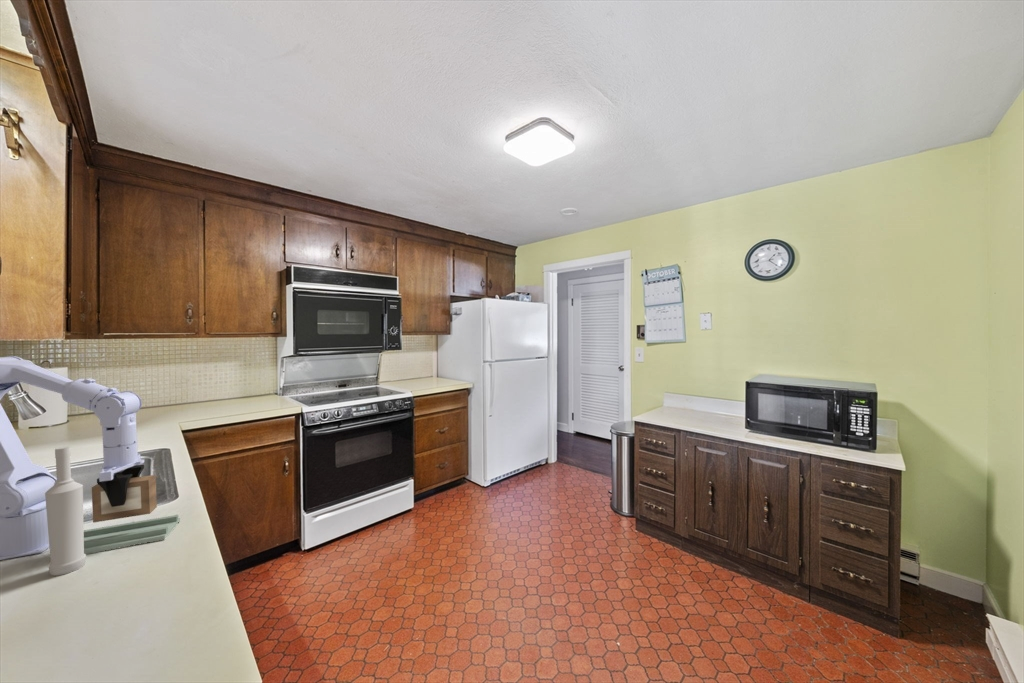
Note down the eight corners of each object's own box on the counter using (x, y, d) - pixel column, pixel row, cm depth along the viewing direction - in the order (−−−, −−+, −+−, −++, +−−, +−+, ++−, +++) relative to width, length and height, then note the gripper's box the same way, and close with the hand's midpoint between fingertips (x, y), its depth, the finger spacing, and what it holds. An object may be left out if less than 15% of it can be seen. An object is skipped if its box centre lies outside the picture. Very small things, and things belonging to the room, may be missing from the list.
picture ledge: (58, 559, 85) (58, 549, 85) (85, 537, 95) (84, 528, 94) (164, 539, 93) (164, 530, 93) (180, 521, 102) (179, 513, 102)
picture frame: (92, 522, 90) (91, 487, 90) (102, 515, 94) (101, 481, 93) (149, 513, 94) (148, 480, 94) (156, 507, 98) (155, 474, 97)
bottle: (61, 577, 79) (55, 452, 78) (41, 575, 80) (35, 451, 79) (93, 562, 84) (88, 444, 83) (74, 560, 85) (69, 443, 84)
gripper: (128, 449, 88) (130, 510, 88) (155, 435, 101) (157, 488, 102) (85, 454, 85) (88, 517, 86) (118, 438, 99) (121, 493, 99)
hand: (123, 501), depth 93 cm, fingers closed on picture frame, 4 cm apart
